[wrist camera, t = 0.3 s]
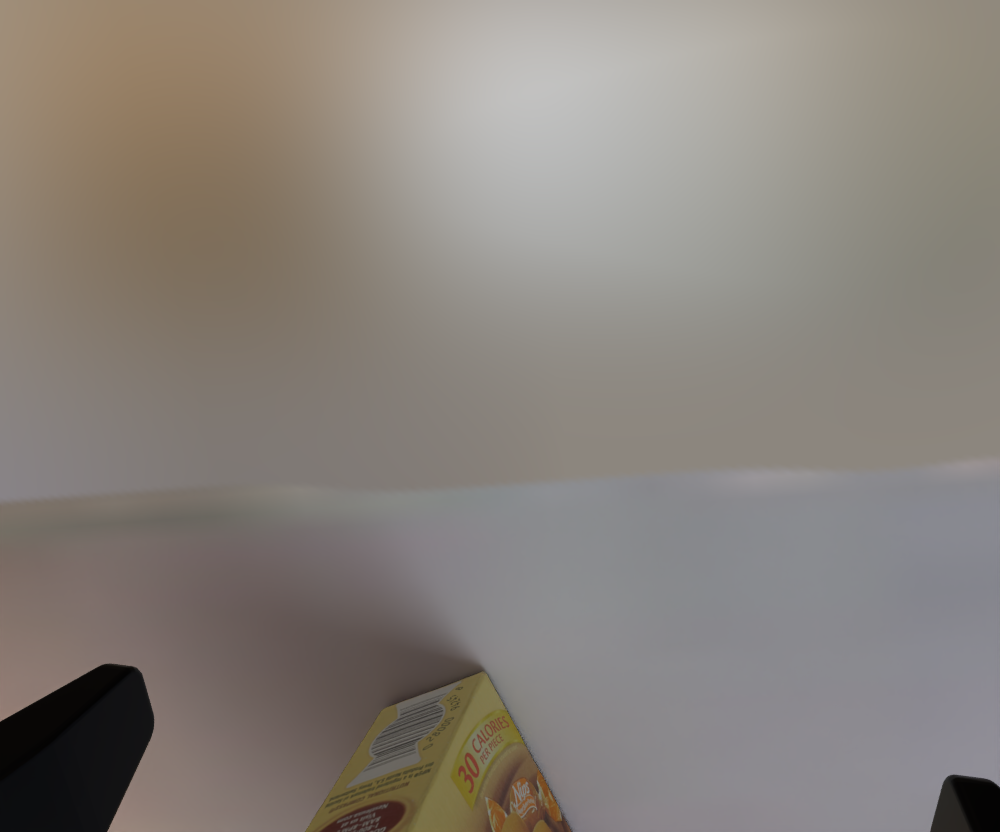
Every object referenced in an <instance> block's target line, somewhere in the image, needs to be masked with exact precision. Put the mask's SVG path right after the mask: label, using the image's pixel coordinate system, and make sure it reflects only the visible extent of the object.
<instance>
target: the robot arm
mask: <svg viewBox="0 0 1000 832" xmlns="http://www.w3.org/2000/svg"><path fill="white" fill-rule="evenodd" d="M153 729H154V714H153V710H152V707H151V703H150V700H149V696H148V693H147V689H146V686H145V682H144V679H143V676H142V673H141V672H140V671H139V670H138V669H137V668H135V667H133V666H125V665H118V664H104V665H101V666H99V667H97V668H95V669H93V670H92V671H90V672H88V673H86V674H84V675H83V676H81V677H79V678H77V679H75V680H74V681H72V682H70V683H68V684H67V685H65V686H63V687H61V688H59V689H58V690H56V691H54V692H52V693H51V694H49V695H47V696H45V697H43V698H42V699H40V700H38V701H36V702H34V703H33V704H31V705H29V706H27V707H26V708H24V709H22V710H20V711H18V712H17V713H15V714H13V715H11V716H10V717H8V718H6V719H4V720H2V721H1V722H0V832H107V831H108V829H109V827H110V825H111V823H112V821H113V818H114V816H115V814H116V812H117V810H118V808H119V805H120V803H121V801H122V799H123V797H124V795H125V793H126V790H127V788H128V786H129V784H130V782H131V780H132V778H133V775H134V773H135V771H136V769H137V767H138V765H139V763H140V760H141V758H142V756H143V754H144V752H145V750H146V748H147V745H148V743H149V741H150V739H151V736H152V733H153ZM930 832H1000V787H999V786H998V785H997V784H995V783H994V782H992V781H991V780H988V779H984V778H976V777H969V776H961V775H950V776H948V777H947V778H946V779H945V781H944V782H943V785H942V789H941V793H940V796H939V800H938V804H937V807H936V811H935V815H934V819H933V822H932V826H931V831H930Z"/></svg>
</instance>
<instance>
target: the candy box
mask: <svg viewBox="0 0 1000 832" xmlns="http://www.w3.org/2000/svg"><path fill="white" fill-rule="evenodd" d="M305 832H571V830H570V828H569V826H568V825H567V823H566V821H565V819H564V817H563V816H562V814H561V812H560V809H559V807H558V805H557V803H556V801H555V799H554V797H553V795H552V793H551V791H550V790H549V788H548V786H547V784H546V782H545V780H544V778H543V776H542V775H541V773H540V772H539V770H538V768H537V766H536V764H535V763H534V761H533V759H532V757H531V755H530V753H529V751H528V749H527V748H526V746H525V744H524V742H523V740H522V738H521V736H520V734H519V732H518V730H517V728H516V727H515V725H514V723H513V721H512V719H511V718H510V716H509V714H508V712H507V710H506V708H505V706H504V705H503V703H502V701H501V699H500V697H499V696H498V694H497V692H496V690H495V688H494V687H493V685H492V683H491V681H490V679H489V677H488V676H487V674H486V673H485V672H484V671H482V672H480V673H477V674H475V675H472V676H470V677H467V678H464V679H462V680H459V681H456V682H454V683H452V684H449V685H446V686H444V687H441V688H438V689H436V690H433V691H430V692H428V693H425V694H422V695H419V696H416V697H414V698H411V699H408V700H405V701H402V702H400V703H397V704H394V705H392V706H389V707H386V708H384V709H383V710H382V711H381V712H380V714H379V715H378V717H377V718H376V720H375V722H374V723H373V725H372V727H371V728H370V730H369V731H368V733H367V734H366V736H365V738H364V739H363V741H362V742H361V744H360V745H359V747H358V748H357V750H356V752H355V753H354V755H353V756H352V758H351V760H350V761H349V763H348V764H347V766H346V767H345V769H344V770H343V772H342V774H341V775H340V777H339V779H338V780H337V782H336V784H335V785H334V787H333V788H332V790H331V792H330V793H329V795H328V796H327V798H326V800H325V801H324V803H323V804H322V806H321V808H320V809H319V810H318V812H317V813H316V815H315V817H314V818H313V820H312V822H311V823H310V825H309V826H308V828H307V829H306V831H305Z"/></svg>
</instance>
